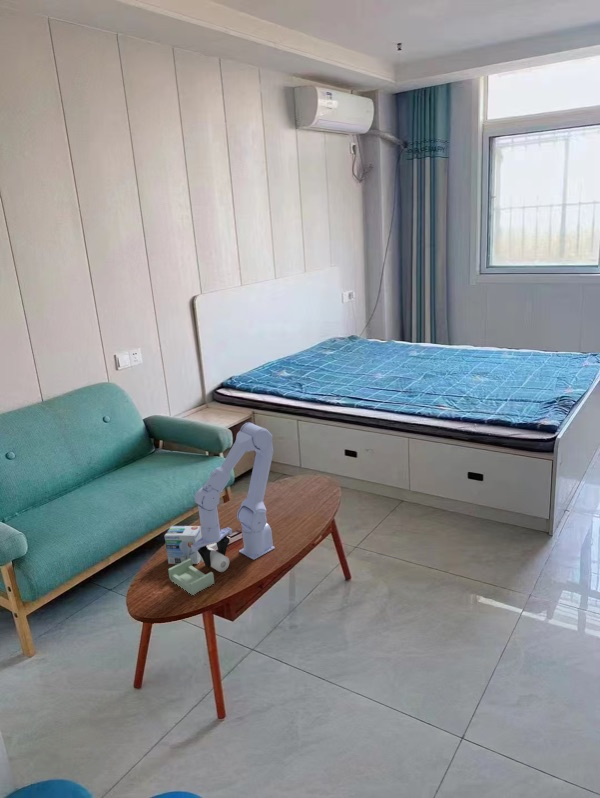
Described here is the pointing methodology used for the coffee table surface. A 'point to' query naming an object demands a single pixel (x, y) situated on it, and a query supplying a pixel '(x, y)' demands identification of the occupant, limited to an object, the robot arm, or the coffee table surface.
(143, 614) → the coffee table surface
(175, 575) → the holder
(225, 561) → the roll
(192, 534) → the light bulb box
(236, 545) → the coffee table surface
